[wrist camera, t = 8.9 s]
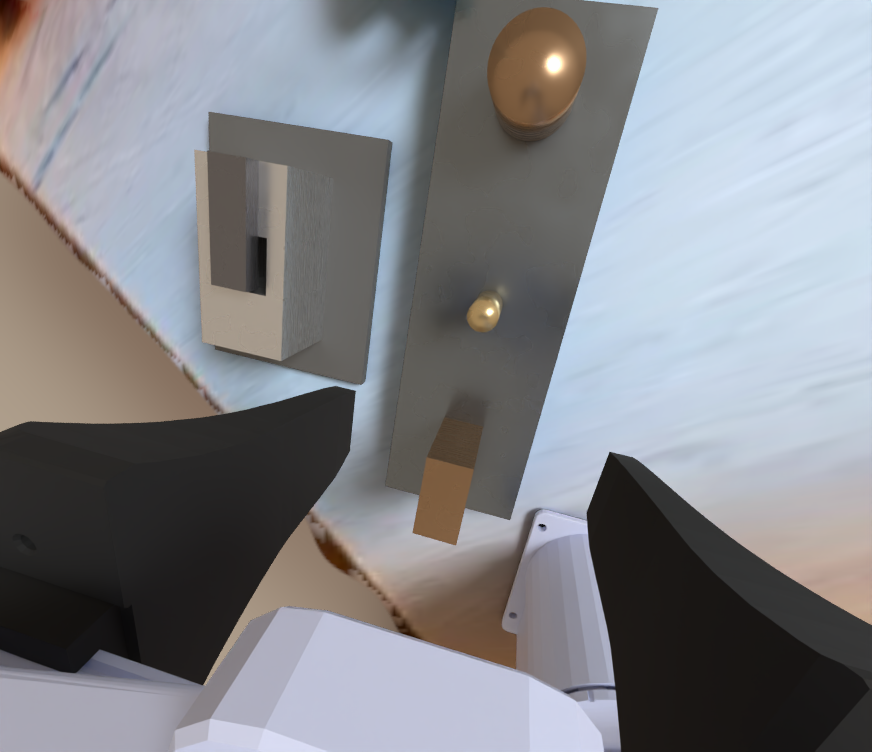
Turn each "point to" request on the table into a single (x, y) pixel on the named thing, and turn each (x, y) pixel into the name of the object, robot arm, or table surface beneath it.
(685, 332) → the table surface
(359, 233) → the flat grey panel
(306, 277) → the white slotted box
